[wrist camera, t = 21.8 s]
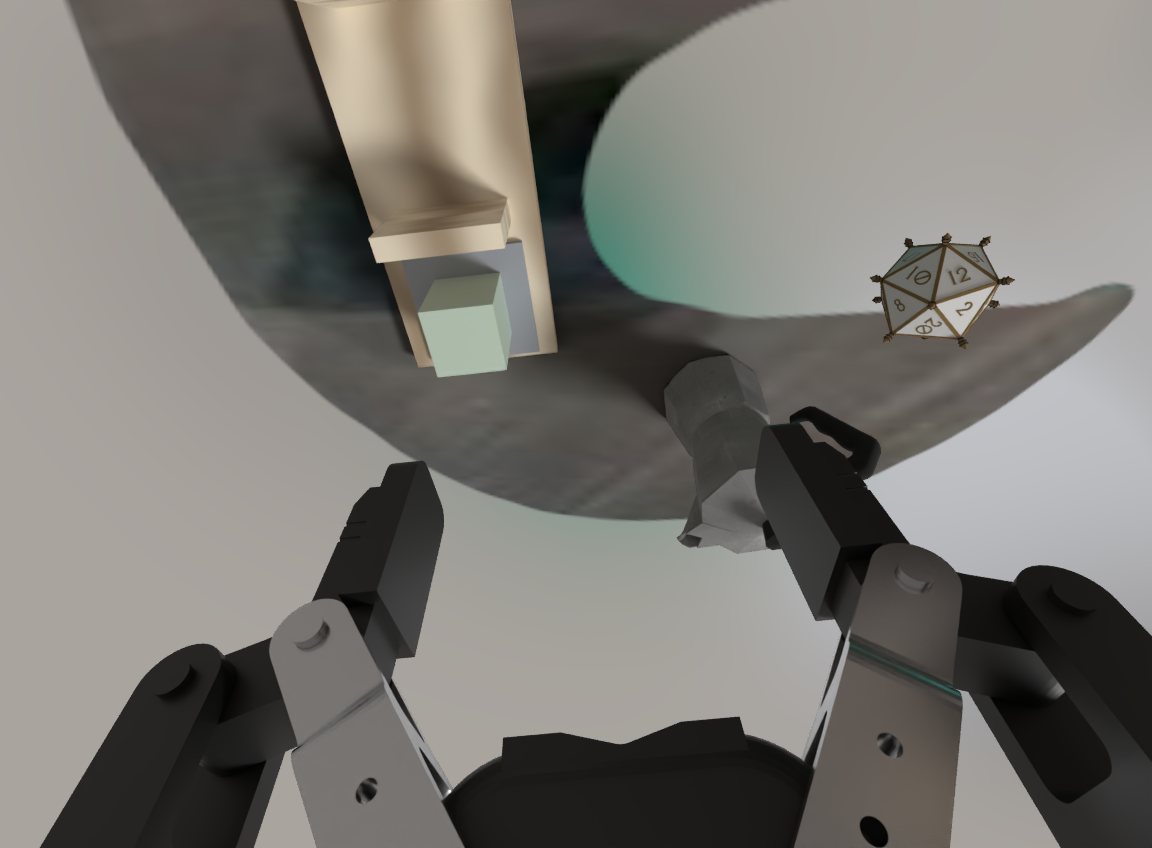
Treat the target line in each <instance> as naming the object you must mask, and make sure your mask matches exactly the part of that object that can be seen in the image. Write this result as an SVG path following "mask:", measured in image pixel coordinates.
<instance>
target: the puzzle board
mask: <svg viewBox="0 0 1152 848" xmlns="http://www.w3.org/2000/svg"><path fill="white" fill-rule="evenodd" d="M295 1H296V2H297V5H298V8H299V11H300V14H301V17H302V20H303V23H304V26H305V29H306V32H307V35H308V38H309V41H310V44H311V47H312V50H313V53H314V56H315V59H316V62H317V65H318V68H319V71H320V74H321V77H322V80H323V83H324V86H325V89H326V92H327V95H328V98H329V101H330V104H331V107H332V110H333V113H334V116H335V119H336V122H337V125H338V128H339V131H340V134H341V137H342V140H343V143H344V146H345V149H346V152H347V155H348V158H349V161H350V164H351V167H352V170H353V173H354V176H355V179H356V181H357V184H358V187H359V190H360V193H361V196H362V199H363V202H364V205H365V208H366V211H367V214H368V217H369V220H370V223H371V226H372V229H373V232H374V233H373V234H372V235H371V236H370V237H369V238H368V239H369V242H370V245H371V248H372V251H373V254H374V256H375V259H376V262H377V263H382V262H384V265H385V268H386V271H387V274H388V277H389V280H390V283H391V286H392V289H393V292H394V295H395V298H396V301H397V304H398V307H399V310H400V313H401V316H402V319H403V322H404V325H405V328H406V331H407V334H408V337H409V340H410V343H411V346H412V349H413V352H414V355H415V358H416V361H417V364H418V367H427V366H434V364H433V360H432V357H431V354H430V351H429V348H428V344H427V341H426V338H425V335H424V332H423V328H422V325H421V322H420V319H419V316H418V312H417V309H416V306H415V303H414V300H413V296H412V293H411V290H410V287H409V284H408V280H407V277H406V274H405V271H404V268H403V264H402V261H401V260H408V259H417V258H426V257H434V256H443V255H452V254H460V253H469V252H478V251H486V250H495V249H504V248H505V246H506V242H514V241H522V244H523V250H524V256H525V262H526V268H527V275H528V281H529V287H530V293H531V299H532V305H533V312H534V318H535V324H536V330H537V336H538V342H539V349H540V350H539V352H532V353H523V354H514V355H509V356H508V358H509V357H518V356H528V355H537V354H546V353H555V352H558V343H557V336H556V329H555V321H554V314H553V307H552V299H551V292H550V285H549V278H548V270H547V263H546V256H545V248H544V241H543V234H542V226H541V219H540V212H539V204H538V197H537V190H536V183H535V175H534V168H533V161H532V153H531V146H530V139H529V131H528V124H527V117H526V109H525V102H524V95H523V87H522V80H521V73H520V66H519V58H518V51H517V44H516V36H515V29H514V22H513V14H512V7H511V0H295Z"/></svg>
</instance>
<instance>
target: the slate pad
mask: <svg viewBox="0 0 1152 848" xmlns="http://www.w3.org/2000/svg"><path fill="white" fill-rule="evenodd" d="M401 261H402V264H403V268H404V271H405V274H406V277H407V280H408V284H409V287H410V290H411V293H412V296H413V300H414V303H415V306H416V309H417V312H418V311H419V309H420V307H421V305H422V303H423V301H424V299H425V298H426V296H427V294H428V292H429V290H430V288H431V286H432V284H433V282H434V280H437V279H446V278H455V277H464V276H472V275H481V274H490V273H499V272H500V274H501V280H502V285H503V290H504V295H505V300H506V305H507V310H508V315H509V321H510V326H511V331H512V335H511V342H510V349H509V355H514V354H523V353H532V352H539V350H540V349H539V342H538V336H537V330H536V324H535V318H534V312H533V305H532V299H531V293H530V287H529V281H528V275H527V268H526V262H525V256H524V250H523V244H522V241H514V242H506V246H505V248H504V249H495V250H486V251H478V252H469V253H460V254H452V255H443V256H434V257H426V258H417V259H408V260H401Z"/></svg>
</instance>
